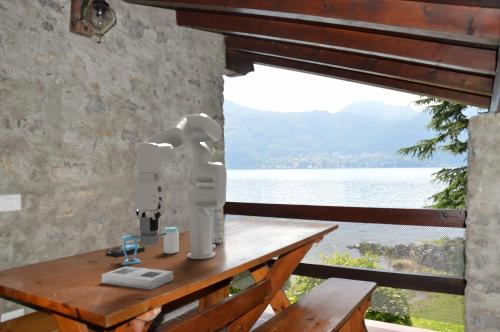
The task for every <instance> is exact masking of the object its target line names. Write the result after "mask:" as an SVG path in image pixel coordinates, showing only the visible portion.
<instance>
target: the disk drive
mask: <svg viewBox="0 0 500 332" xmlns="http://www.w3.org/2000/svg"><path fill="white" fill-rule="evenodd" d="M138 246H139V248H138V249H137V252H136V254H139V253H143V252H146V251H145V250H146V247H145V246H143V245H138ZM105 251H106V253H105V254H106V255H108V256H112V257H117V258H120V257H121V258H122V257H123V256H124V257H125V254H124V251H123V247H122V246H120V247H119V246H118V247H116V248H115V247H114V248H109V249H106V250H105ZM125 251H126V254H127V256H128V255H133V254H134V252H135V248H132V249H125Z"/></svg>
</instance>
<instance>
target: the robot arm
mask: <svg viewBox="0 0 500 332" xmlns="http://www.w3.org/2000/svg"><path fill="white" fill-rule="evenodd" d="M222 132H223V131H222V127H221V125H220V124H219V123H218V122H217V121H216V120H214V119H213V118H212V117H210V116H209V115H207V114H205V113H198V114H197V113H196V114H194V113H193V114H185V115H181V116H180V117H179V118H178V119H176V121H175V122H174V123H173V124H172V125H171V126H170V127H169V128H167V129H164V130H162V131H160V132H158V133H156V134H155V133H154V134H153V135H151V136H150V137H147V138H146V139H145V140H144V141H143V142H141V143H138V144H137V145H136V170H137V171H136V172H137V173H136V175H137V176H136V177H137V178H136V179H137V180H136V183H135V186H134V187H135V188H134V198H133V199H134V203H133V204H134V205H133V206H132V211H133V213H134V214H135V215H136V216H137V218H138V219H139V230H140V231H141V217H145V216H147V214H148V213H147V212H148V211H150V214H151V215H150V216H152V220H151V231H157V232H158V231H159V219H161V216H162V215H163V214H165V212H167V209H166V207H165V195H164V194H165V193H164V188H163V187H164V186H163V183H162V181H160V179H161V178H162V174H160V165H168V164H171V163H172V162H173V163H174V161H175V159H176V158H177V151H176V149H177V148H179V147H181V146H183V145H184V144H185V143H186V142H188V144H189V146H190V148H191V150H192V165H191V166H192V168H191V169H192V171H191V178H192V181H193V182H194V183H196V184H201V185H202V184H213V185H212V186H210V185H209V186H205V185H204V186H193V187H191V188H189V190H188V191H187V194H186V198H187V199H186V200H187V204H188V209H189V236H190V237H189V238H190V252H189V253H187V255H186V256H187V258H188V259H192V260H206V259H211V258H215V256H216V252H214V251H213V249H216V247H217V246H216V243H212V236H211V216H210V213H209V212H208V210H207V209H206V208H219V207H222V206H223V207H224V205H225V204H226V199H227V181H228V176H227V175H228V174H227V168H226V166H225V164H223V163H222V162H218V161H216V162H212V150H211V149H210V148H209V146H208V144H206V143H212V142H213V143H215V142H218V141H220V140H221V138H222V135H223V133H222Z"/></svg>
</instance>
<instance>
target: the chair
mask: <svg viewBox="0 0 500 332" xmlns="http://www.w3.org/2000/svg"><path fill="white" fill-rule="evenodd" d="M121 240H122V241H123V244H122V245H121V247H123V251H124V254H125V256H124V257H125V259H124V260H123V261H122V262H121V265H122V266H129V265H135V264H136V265H137V264H141V263H142V261H141V260H140V259H138V258H136V254H137V253H136V252H137V249H138V248H139V246H140V245H139V244H138V242H139V238H131V234H130V235H127V236H126V235H123V236H122V237H121ZM129 241H134V243H133V244H127V242H129ZM132 248H135V252H134V254H132V258H131V260H132V261H129V257H128V255H127V254H126V251H125V249H132Z"/></svg>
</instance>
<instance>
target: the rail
mask: <svg viewBox="0 0 500 332" xmlns="http://www.w3.org/2000/svg"><path fill="white" fill-rule="evenodd" d="M173 280H174V271H172V270H163V269H155V268H154V269H153V268H145V267H136V266H135V267H134V266H129V265H124V266H123V267H119V268H117V269H114V270H110V271H107V272H105V273H102V274H101V283H102V284H106V285H114V286H115V285H116V286H120V287H129V288H136V289H137V288H138V289H142V290H143V289H144V290H151V291H152V290H154V289H156V288H158V287H161V286H163V285H165V284H167V283H169V282H171V281H173Z"/></svg>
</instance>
